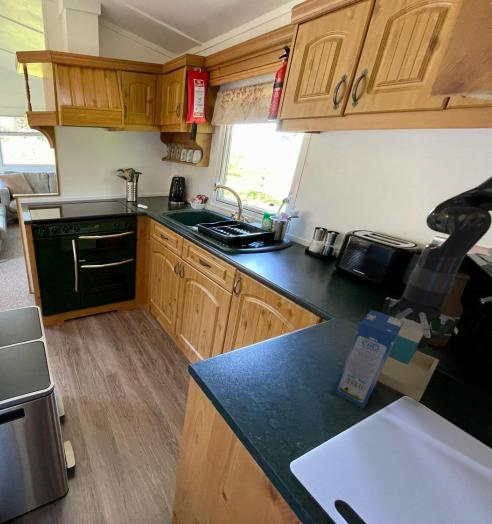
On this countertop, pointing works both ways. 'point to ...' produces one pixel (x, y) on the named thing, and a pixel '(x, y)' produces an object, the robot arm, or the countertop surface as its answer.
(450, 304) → the beer bottle
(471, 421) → the countertop surface
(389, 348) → the milk carton
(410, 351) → the white and teal box
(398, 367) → the crate
